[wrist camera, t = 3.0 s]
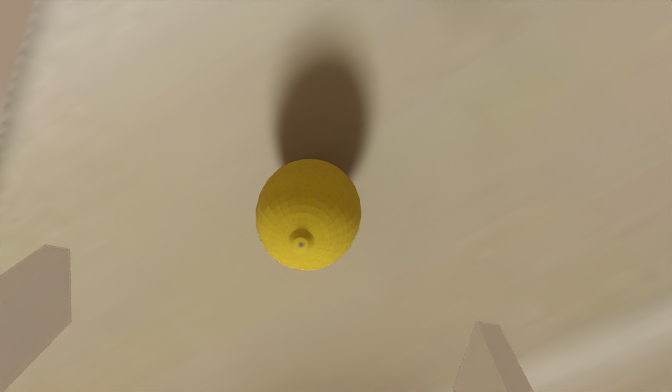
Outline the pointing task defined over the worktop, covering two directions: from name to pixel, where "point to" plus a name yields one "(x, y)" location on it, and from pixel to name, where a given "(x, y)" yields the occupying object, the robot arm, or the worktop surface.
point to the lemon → (308, 214)
